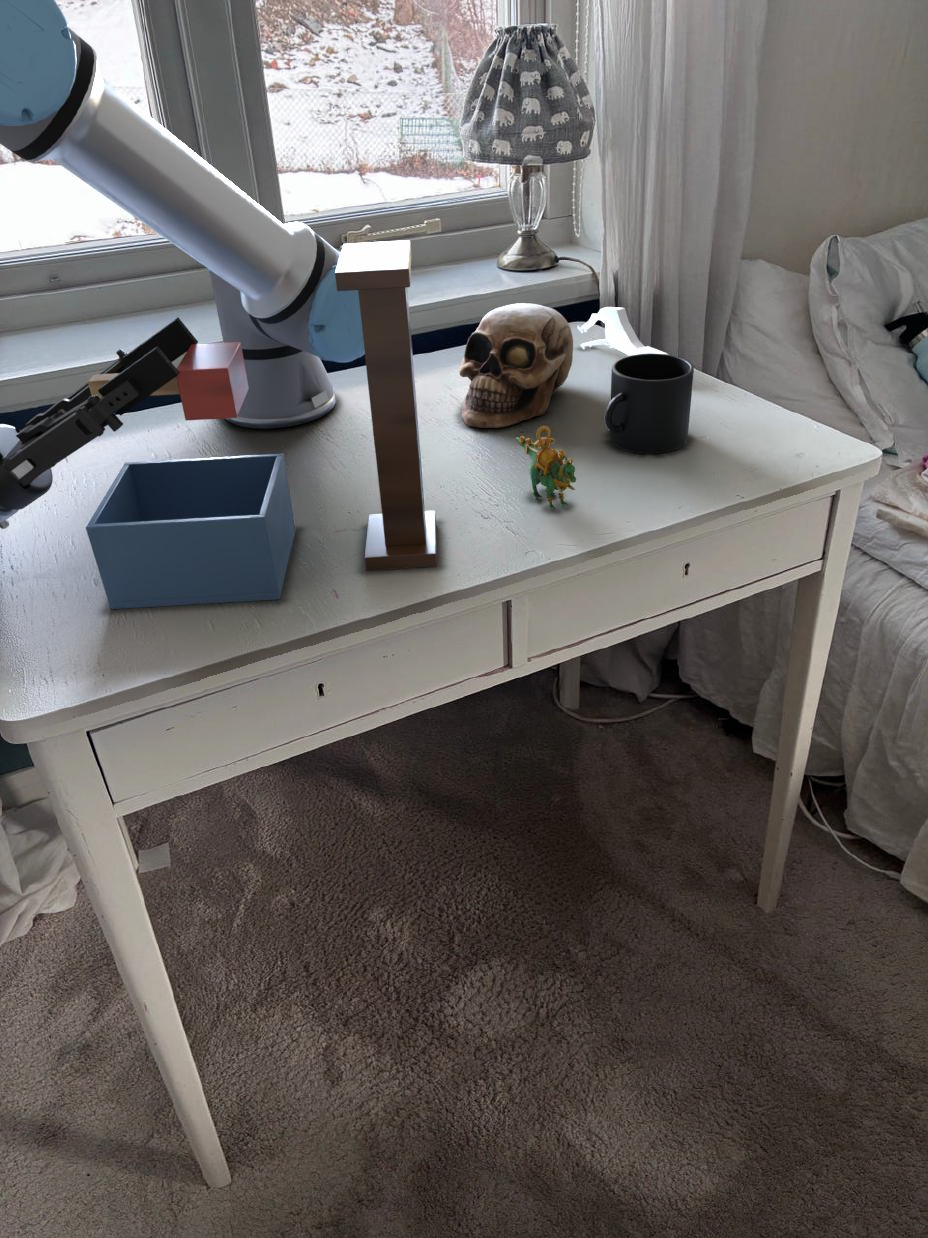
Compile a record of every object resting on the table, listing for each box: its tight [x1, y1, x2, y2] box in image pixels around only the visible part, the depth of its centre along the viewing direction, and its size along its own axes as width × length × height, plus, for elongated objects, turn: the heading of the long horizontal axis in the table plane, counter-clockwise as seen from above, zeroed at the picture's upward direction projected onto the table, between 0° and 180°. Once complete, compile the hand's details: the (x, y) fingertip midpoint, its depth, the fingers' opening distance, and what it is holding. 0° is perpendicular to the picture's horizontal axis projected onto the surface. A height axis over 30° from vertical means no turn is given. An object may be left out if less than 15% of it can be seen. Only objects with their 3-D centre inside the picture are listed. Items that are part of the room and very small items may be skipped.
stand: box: [335, 239, 438, 571], centre depth 89 cm, size 10×7×28 cm
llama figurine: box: [576, 306, 669, 356], centre depth 137 cm, size 2×11×18 cm
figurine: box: [516, 425, 577, 510], centre depth 103 cm, size 3×12×8 cm, turn 27°
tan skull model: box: [458, 302, 574, 429], centre depth 125 cm, size 16×17×13 cm
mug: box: [604, 353, 695, 455], centre depth 113 cm, size 9×12×9 cm
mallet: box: [87, 342, 249, 421], centre depth 85 cm, size 7×13×4 cm, turn 92°
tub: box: [85, 452, 296, 610], centre depth 93 cm, size 14×16×9 cm
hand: (177, 345), depth 83 cm, fingers open, 7 cm apart
